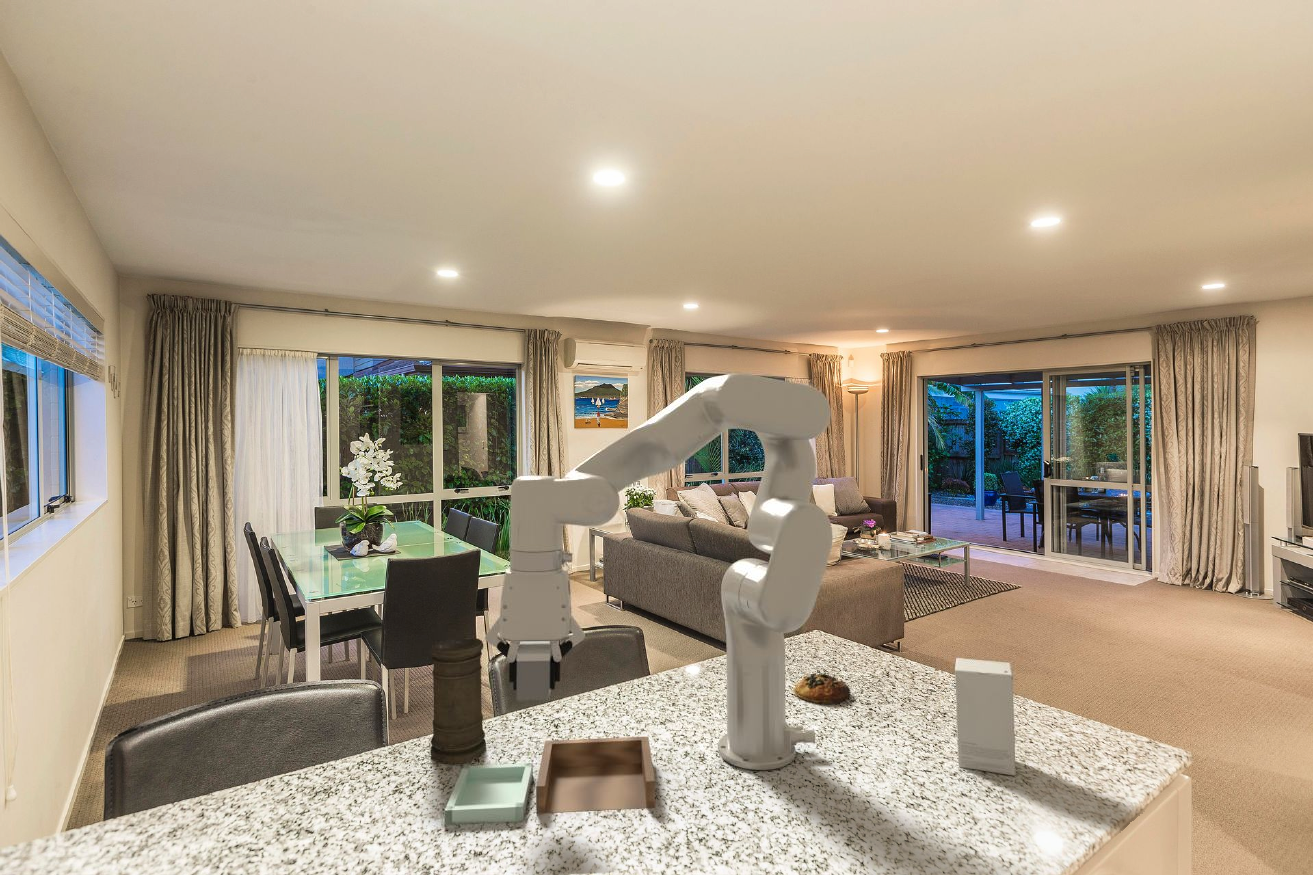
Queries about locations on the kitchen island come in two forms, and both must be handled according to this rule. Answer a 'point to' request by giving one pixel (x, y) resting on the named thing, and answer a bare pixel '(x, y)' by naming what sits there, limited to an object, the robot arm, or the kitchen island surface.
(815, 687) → the bread roll
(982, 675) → the skincare box
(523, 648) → the off-white upright block
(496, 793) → the tray
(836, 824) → the kitchen island surface
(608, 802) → the bay
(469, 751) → the container
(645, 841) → the kitchen island surface
